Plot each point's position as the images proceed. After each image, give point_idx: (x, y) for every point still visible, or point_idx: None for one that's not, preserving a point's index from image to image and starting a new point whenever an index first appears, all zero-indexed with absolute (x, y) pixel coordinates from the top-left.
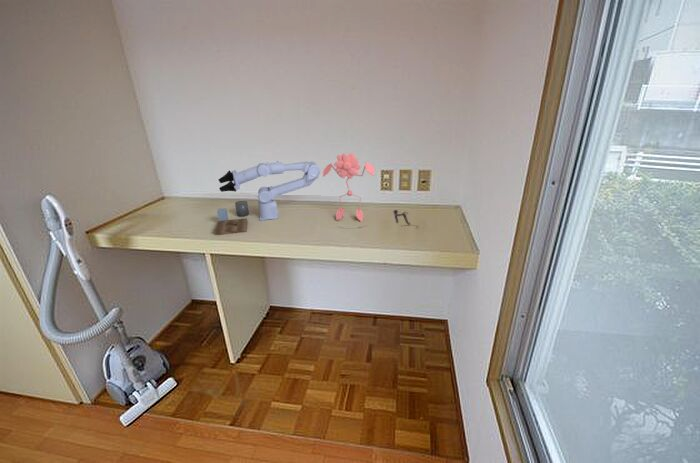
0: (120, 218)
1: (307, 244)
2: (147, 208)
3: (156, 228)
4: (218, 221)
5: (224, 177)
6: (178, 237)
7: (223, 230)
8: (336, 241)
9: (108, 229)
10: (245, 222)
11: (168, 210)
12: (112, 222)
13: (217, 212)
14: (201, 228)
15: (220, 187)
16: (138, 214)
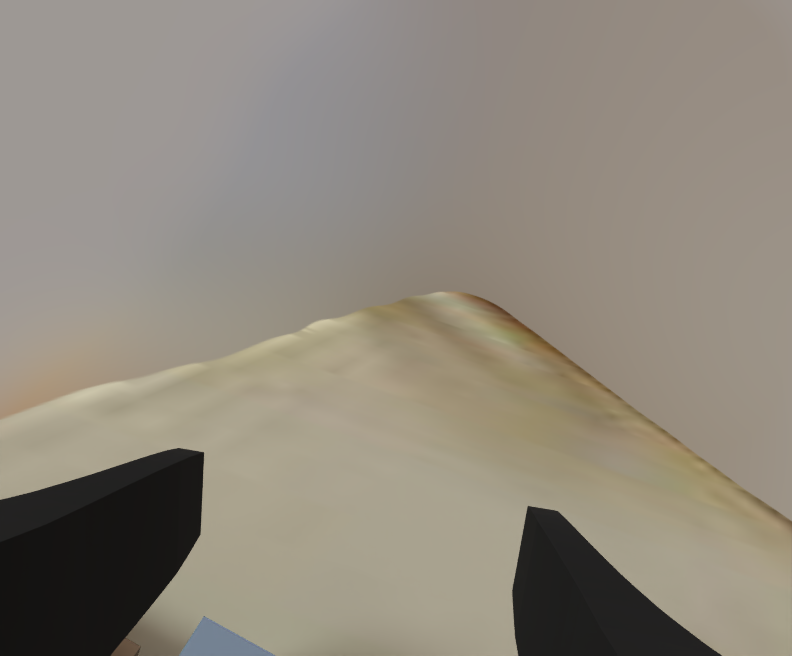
0: (580, 369)
1: None
2: (688, 461)
3: (399, 385)
4: (124, 645)
5: (571, 616)
6: (176, 384)
7: None
8: None
9: (477, 316)
10: None
11: (652, 511)
12: (544, 344)
13: (198, 627)
14: (209, 526)
15: (171, 454)
16: (613, 414)
